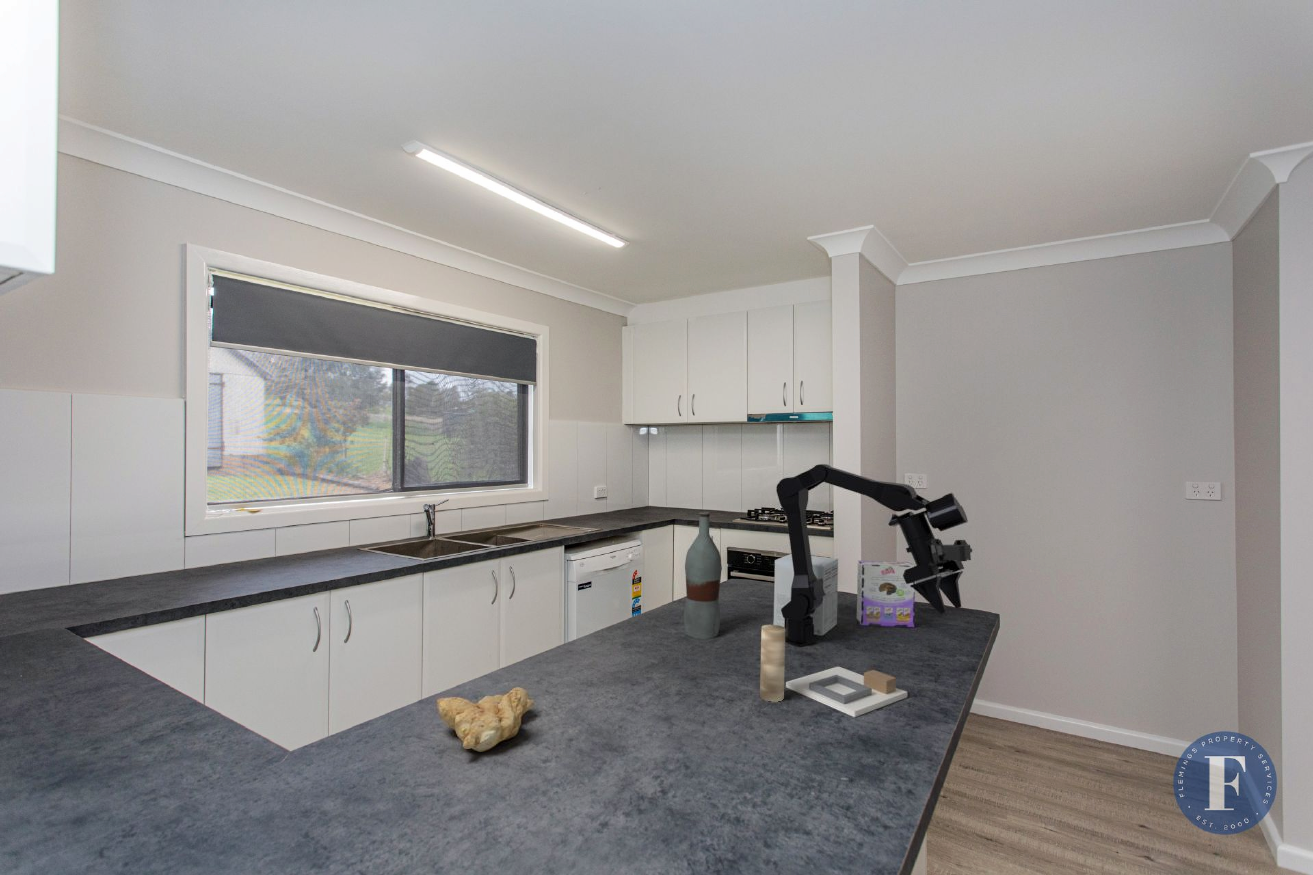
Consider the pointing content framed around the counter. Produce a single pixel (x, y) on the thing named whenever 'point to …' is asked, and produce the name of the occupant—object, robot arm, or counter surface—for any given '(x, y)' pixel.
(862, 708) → the plate
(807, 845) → the counter surface
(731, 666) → the counter surface
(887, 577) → the candy box
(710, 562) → the bottle
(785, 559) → the supplement box
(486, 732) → the ginger root
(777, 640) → the wooden column
